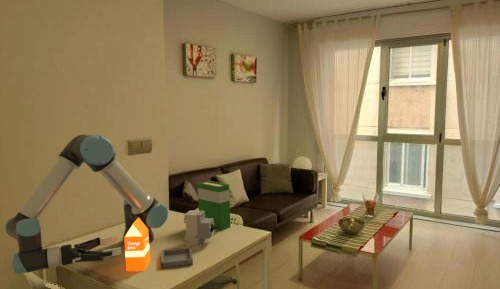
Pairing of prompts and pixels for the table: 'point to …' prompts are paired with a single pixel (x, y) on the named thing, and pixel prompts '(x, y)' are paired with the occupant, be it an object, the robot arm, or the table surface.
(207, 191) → the green box
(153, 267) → the table surface
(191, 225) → the circuit breaker
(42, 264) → the robot arm
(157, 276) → the table surface
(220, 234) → the table surface
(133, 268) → the juice carton
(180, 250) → the tray
